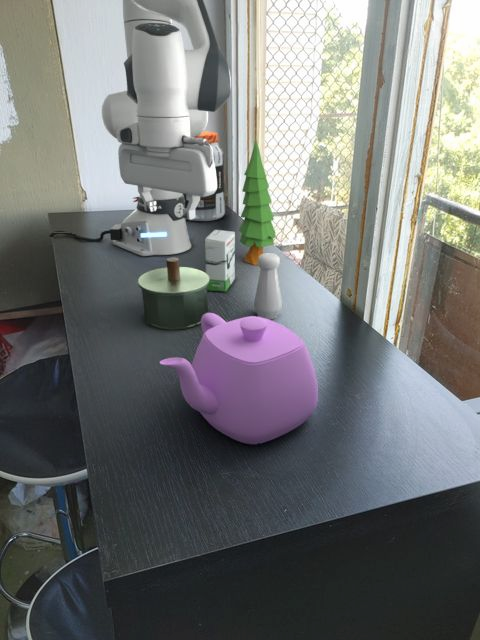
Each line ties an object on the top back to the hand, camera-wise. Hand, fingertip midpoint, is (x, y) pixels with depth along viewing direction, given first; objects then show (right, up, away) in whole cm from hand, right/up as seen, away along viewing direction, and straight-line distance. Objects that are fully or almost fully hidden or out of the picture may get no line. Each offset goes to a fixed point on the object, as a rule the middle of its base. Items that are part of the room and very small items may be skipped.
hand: (169, 214), depth 96 cm
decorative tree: (+16, -2, +40) cm, 43 cm away
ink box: (+7, -10, +26) cm, 28 cm away
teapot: (+15, -35, -19) cm, 42 cm away
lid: (0, -12, +6) cm, 13 cm away
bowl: (0, -18, +10) cm, 21 cm away
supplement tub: (-3, +19, +78) cm, 81 cm away
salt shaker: (+18, -18, +11) cm, 28 cm away
